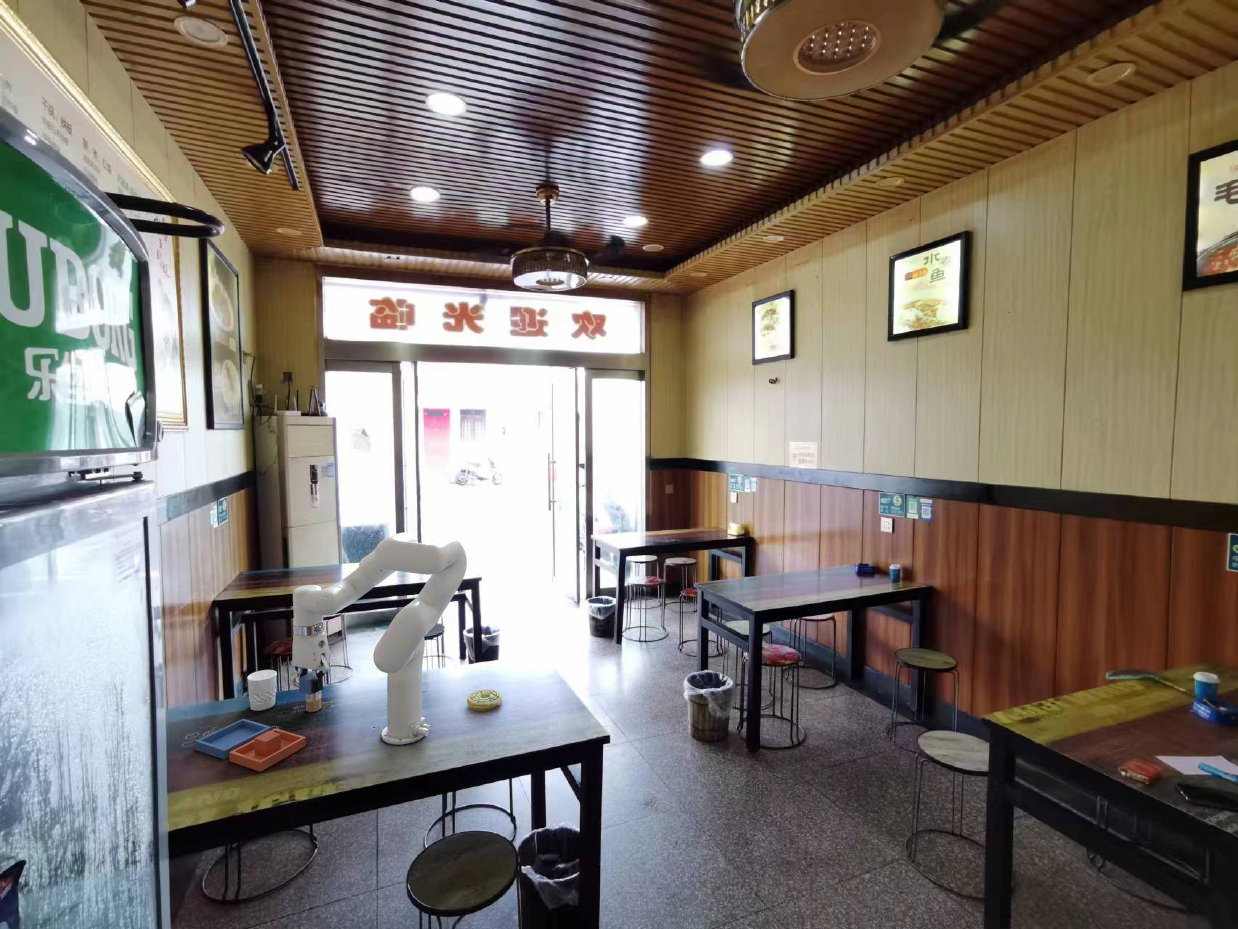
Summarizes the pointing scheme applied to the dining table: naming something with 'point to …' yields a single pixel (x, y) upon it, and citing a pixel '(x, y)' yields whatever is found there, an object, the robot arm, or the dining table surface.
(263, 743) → the terracotta block
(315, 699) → the sprinkles bottle
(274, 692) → the white cup
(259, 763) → the terracotta tray
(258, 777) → the dining table surface
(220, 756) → the slate-blue tray
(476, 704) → the decorated donut
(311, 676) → the slate-blue block
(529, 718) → the dining table surface
